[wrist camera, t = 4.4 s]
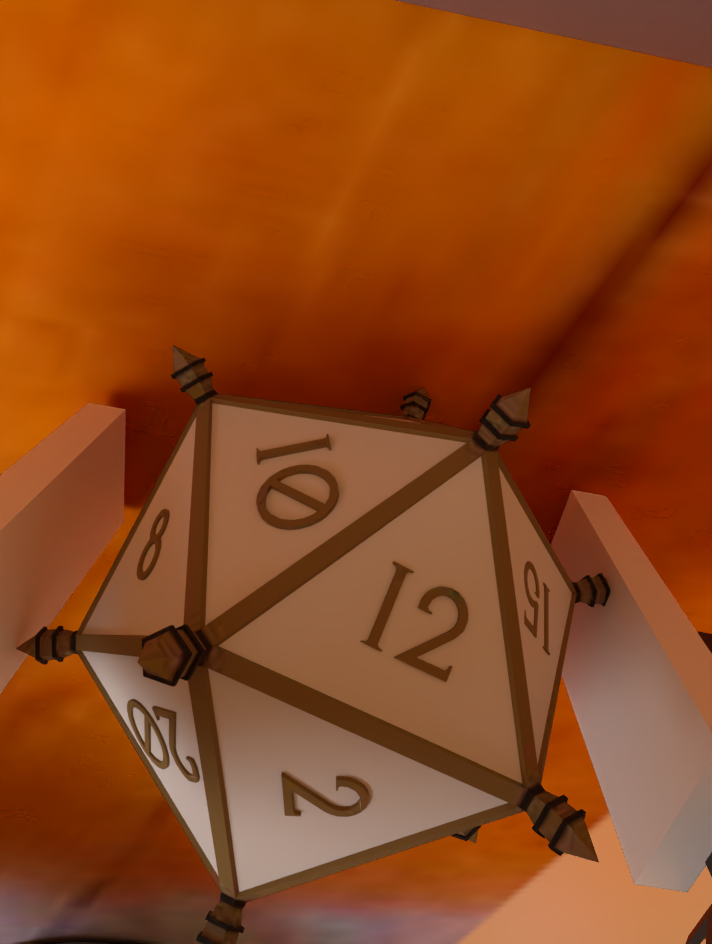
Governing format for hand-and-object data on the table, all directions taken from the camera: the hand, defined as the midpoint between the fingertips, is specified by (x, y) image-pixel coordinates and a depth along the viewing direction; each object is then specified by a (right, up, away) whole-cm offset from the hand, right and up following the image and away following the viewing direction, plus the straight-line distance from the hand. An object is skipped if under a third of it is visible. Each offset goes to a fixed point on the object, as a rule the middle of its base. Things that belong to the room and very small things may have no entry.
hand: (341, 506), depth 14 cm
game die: (0, 0, +1) cm, 1 cm away
